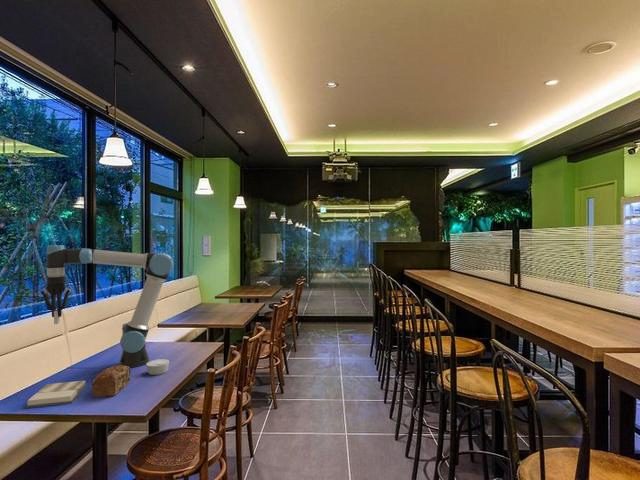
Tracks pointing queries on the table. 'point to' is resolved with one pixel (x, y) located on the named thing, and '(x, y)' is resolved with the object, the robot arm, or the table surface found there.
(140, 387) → the table surface
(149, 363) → the ramekin
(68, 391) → the floor base
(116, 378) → the bread
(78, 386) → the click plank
